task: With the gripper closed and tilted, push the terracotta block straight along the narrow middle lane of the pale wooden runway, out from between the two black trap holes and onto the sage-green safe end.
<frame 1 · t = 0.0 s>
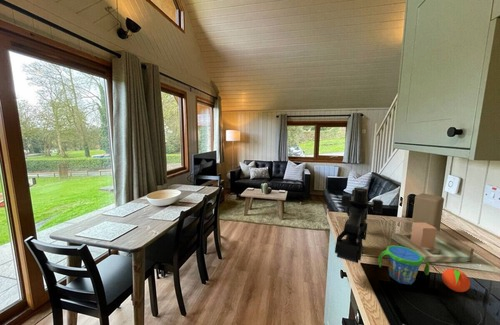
hand: (362, 199, 116), 17 cm above the worktop, tool horizontal, fingers open, 9 cm apart
trap runway: (427, 248, 98), on the worktop
clementine: (454, 290, 72), on the worktop
wooden block: (424, 232, 115), on the worktop
terracotta block: (421, 243, 98), point 2 cm above the worktop, touching trap runway
snack cup: (400, 279, 78), on the worktop
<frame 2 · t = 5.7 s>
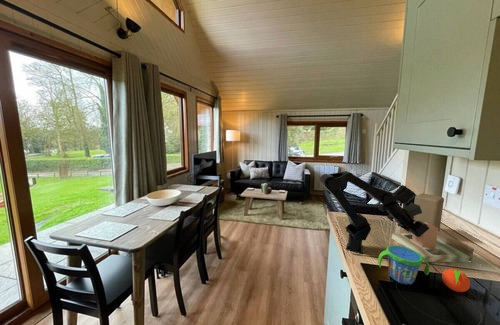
hand: (417, 233, 97), 7 cm above the worktop, tool tilted 45°, fingers closed
nothing on the worktop moved.
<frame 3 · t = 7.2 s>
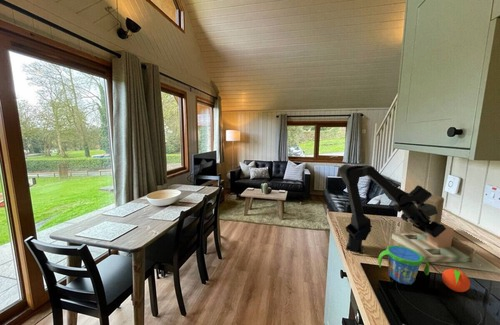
hand: (432, 234, 97), 7 cm above the worktop, tool tilted 45°, fingers closed, pressing on terracotta block
terracotta block: (438, 244, 98), point 3 cm above the worktop, touching gripper, trap runway
everything else where it was.
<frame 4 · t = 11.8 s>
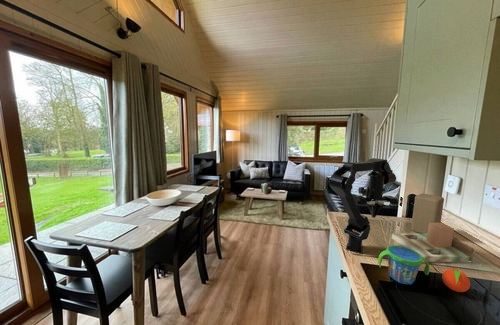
hand: (373, 217, 101), 13 cm above the worktop, tool pointing down, fingers closed
terracotta block: (438, 244, 98), point 2 cm above the worktop, touching trap runway
everything else where it was.
at the end: terracotta block inside the target area (0.8 cm from its centre), point 2.5 cm above the worktop; terracotta block tilted 0° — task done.
